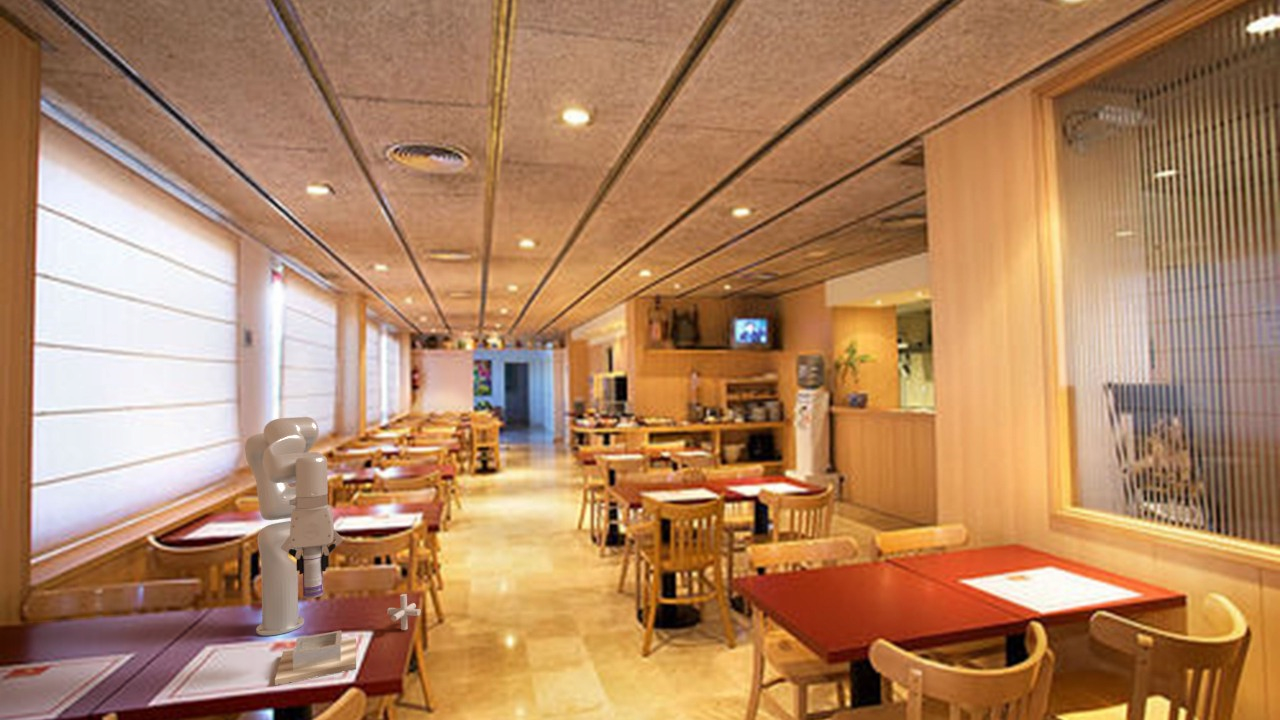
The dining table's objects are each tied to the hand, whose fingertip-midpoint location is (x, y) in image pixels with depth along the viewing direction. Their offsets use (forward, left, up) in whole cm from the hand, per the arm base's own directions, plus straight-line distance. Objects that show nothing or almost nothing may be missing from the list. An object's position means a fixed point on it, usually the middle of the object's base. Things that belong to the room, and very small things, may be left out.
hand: (312, 570), depth 163 cm
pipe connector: (-13, +23, -24) cm, 36 cm away
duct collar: (0, +1, -23) cm, 23 cm away
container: (0, 0, -7) cm, 7 cm away
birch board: (0, +1, -24) cm, 24 cm away
